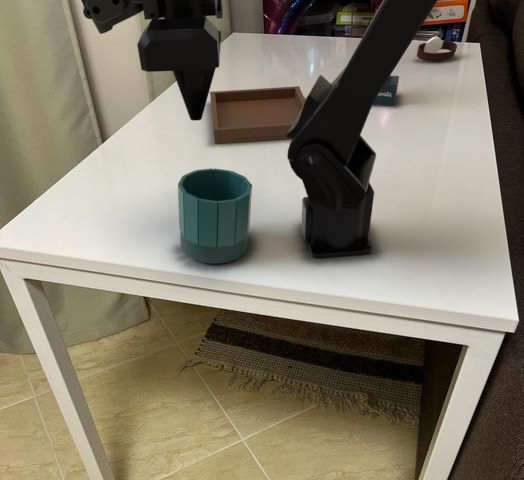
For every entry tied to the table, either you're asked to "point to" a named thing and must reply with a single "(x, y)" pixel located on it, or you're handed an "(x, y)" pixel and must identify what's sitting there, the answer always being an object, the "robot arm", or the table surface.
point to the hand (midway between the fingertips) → (196, 119)
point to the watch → (388, 92)
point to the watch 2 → (436, 50)
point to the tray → (254, 113)
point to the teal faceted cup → (214, 214)
